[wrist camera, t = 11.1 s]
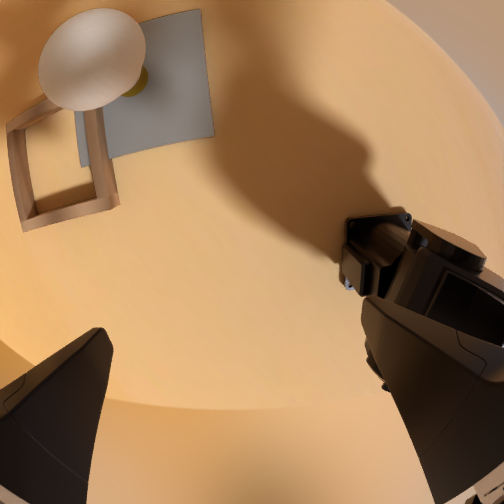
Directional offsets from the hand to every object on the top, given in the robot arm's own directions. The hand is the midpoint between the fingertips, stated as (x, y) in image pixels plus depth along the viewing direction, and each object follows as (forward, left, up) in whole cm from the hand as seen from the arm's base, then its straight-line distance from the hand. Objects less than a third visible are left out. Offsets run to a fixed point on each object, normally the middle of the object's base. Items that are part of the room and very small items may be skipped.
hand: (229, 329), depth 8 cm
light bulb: (+6, -12, -13) cm, 18 cm away
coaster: (+6, -12, -13) cm, 19 cm away
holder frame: (+14, -8, -13) cm, 21 cm away
